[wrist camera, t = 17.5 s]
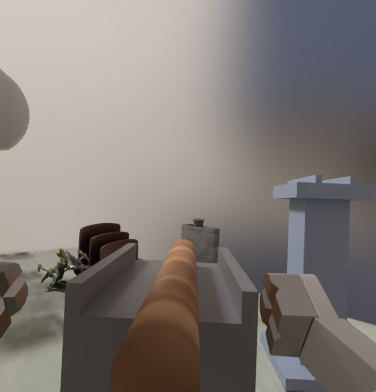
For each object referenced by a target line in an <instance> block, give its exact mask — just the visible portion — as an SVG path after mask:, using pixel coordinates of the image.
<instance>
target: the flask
mask: <svg viewBox="0 0 376 392" xmlns="http://www.w3.org/2000/svg"><path fill="white" fill-rule="evenodd" d="M193 221H194V224H182V233H181V239H186V240H189V241H190V242H192V243H193V245H194V246H195V249H196V262H198V263H218V247H219V231H220V229H219V228H212V227H204V226H203V222H204V219H193Z"/></svg>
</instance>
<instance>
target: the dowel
mask: <svg viewBox="0 0 376 392" xmlns="http://www.w3.org/2000/svg"><path fill="white" fill-rule="evenodd" d="M110 379H111V387H112V391H113V392H199V388H200V380H201V376H200V349H199V322H198V295H197V267H196V249H195V246H194V245H193V243H192V242H190V241H189V240H186V239H180V240H177V241H176V242H174V244H173V245H172V246H171V248H170V250H169V252H168V254H167V256H166V258H165V260H164V262H163V264H162V266H161V268H160V270H159V272H158V274H157V276H156V278H155V280H154V282H153V284H152V286H151V288H150V290H149V292H148V293H147V295H146V297H145V299H144V301H143V303H142V305H141V307H140V309H139V311H138V313H137V315H136V317H135V319H134V321H133V323H132V325H131V327H130V329H129V331H128V333H127V335H126V337H125V339H124V341H123V343H122V345H121V347H120V349H119V351H118V352H117V354H116V357H115V359H114V361H113V364H112V368H111V376H110Z"/></svg>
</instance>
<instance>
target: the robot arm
mask: <svg viewBox="0 0 376 392" xmlns="http://www.w3.org/2000/svg"><path fill="white" fill-rule="evenodd" d="M28 124H29V108H28V104H27V101H26V98H25V96H24V94H23V93H22V91H21V89H20V88H19V86H18V85H17V84H16V83H15V82H14V80H12V79H11V78H10V77H9V76H8V75H6V74H5V73H4V72H3V71H2V70H1V69H0V150H9V149H10V148H12V147H14V146H15V145H16V144H17V143H18V142H19V141H20V140H21V139H22V137H23V136H24V134H25V133H26V130H27V128H28ZM21 273H22V270H21V268H20V266H19V264H17V263H10V262H0V338H1V337H2V335H3V334H4V333H5V331H6V330H7V328H8V327H9V325H10V324H11V316H12V315H14V314H15V313H17V312H18V311H20V309H21V308H22V306H23V305H24V303H25V301H26V298H27V295H28V286H27V284H26V281H25V280H23V279H22V278H21V277H20V274H21ZM263 283H264V286H265V289H264V290H262V291H261V295H260V313H261V318H262V322H263V323H264V324H265V325H266V326H267V330H266V334H265V335H266V339H267V343H268V347H269V351H270V355H273V356H286V357H299V360H300V361H301V362H302V363H303V365H304V366H305V367H306V368H307V370H308V371H309V372H310V373H311V374H312V376H313V377H314V378H315V379H316V381H317V382H318V383H319V384H320V385H321V387H322V388H323V389H324V390H325V392H376V343H375V342H373V341H372V340H371V339H369V338H368V337H367V336H366V335H364V334H363V333H362V332H360V331H359V330H358V329H357V328H355V327H354V326H353V325H352V324H350V323H349V322H348V321H346V320H345V319H339V317H338V316H337V314H336V312H335V310H334V308H333V306H332V304H331V303H330V301H329V299H328V297H327V295H326V293H325V292H324V290H323V288H322V286H321V284H320V282H319V280H318V279H317V277H316V276H315V275H314V274H282V273H266V275H265V276H264V281H263Z"/></svg>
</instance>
